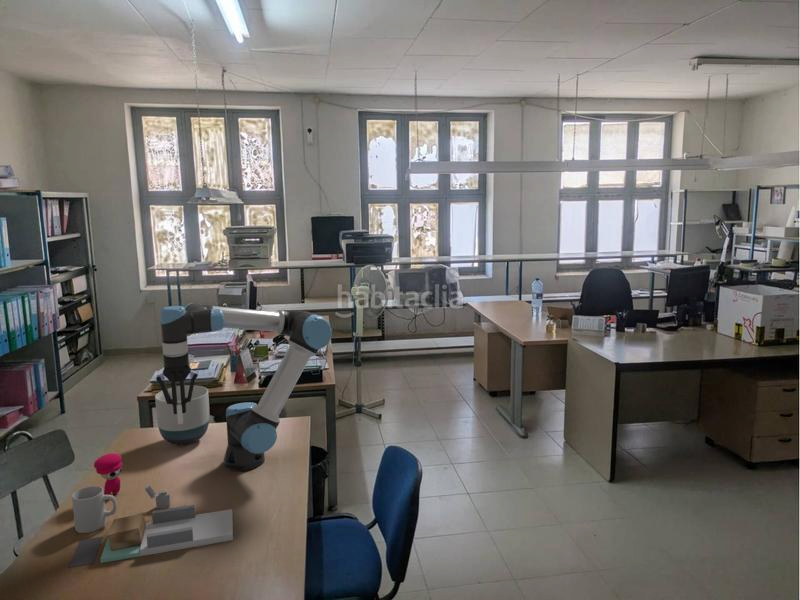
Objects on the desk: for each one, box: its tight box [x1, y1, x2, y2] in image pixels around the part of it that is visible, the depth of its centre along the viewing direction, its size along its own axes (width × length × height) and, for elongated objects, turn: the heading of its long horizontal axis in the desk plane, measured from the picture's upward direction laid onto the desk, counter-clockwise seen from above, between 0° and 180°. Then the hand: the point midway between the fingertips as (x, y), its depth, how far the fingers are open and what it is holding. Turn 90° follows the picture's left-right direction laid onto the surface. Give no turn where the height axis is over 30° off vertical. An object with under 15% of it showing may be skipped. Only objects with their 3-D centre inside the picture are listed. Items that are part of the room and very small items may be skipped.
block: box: [107, 512, 146, 551], centre depth 158 cm, size 8×8×5 cm
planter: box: [154, 384, 210, 446], centre depth 226 cm, size 20×20×21 cm
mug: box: [71, 485, 118, 534], centre depth 168 cm, size 12×8×11 cm
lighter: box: [144, 484, 171, 510], centre depth 178 cm, size 7×2×8 cm, turn 106°
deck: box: [139, 504, 234, 557], centre depth 163 cm, size 25×14×6 cm, turn 108°
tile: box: [100, 524, 146, 564], centre depth 158 cm, size 10×14×1 cm
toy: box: [93, 452, 123, 496], centre depth 183 cm, size 8×8×15 cm
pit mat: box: [67, 536, 104, 569], centre depth 155 cm, size 6×13×1 cm, turn 18°
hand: (180, 422), depth 181 cm, fingers closed
